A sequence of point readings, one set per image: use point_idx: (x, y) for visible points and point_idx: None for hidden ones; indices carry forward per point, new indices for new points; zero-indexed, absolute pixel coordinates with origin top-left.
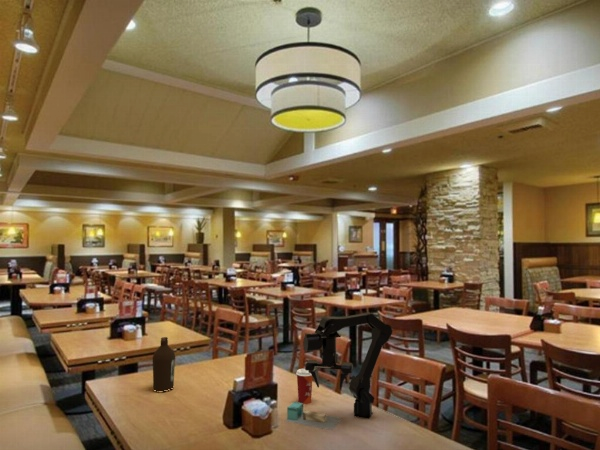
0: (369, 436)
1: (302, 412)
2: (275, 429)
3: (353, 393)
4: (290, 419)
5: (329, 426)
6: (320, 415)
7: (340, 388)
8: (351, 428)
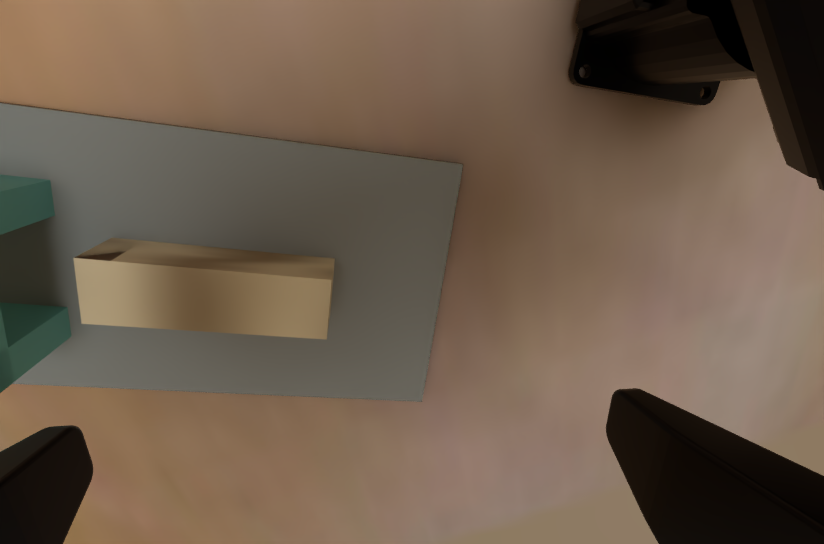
0: (668, 389)
1: (36, 199)
2: None
3: (760, 66)
4: None
5: (390, 357)
6: (288, 334)
7: (625, 460)
8: (552, 316)
